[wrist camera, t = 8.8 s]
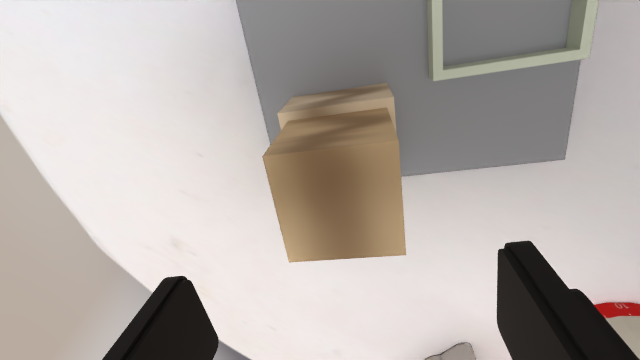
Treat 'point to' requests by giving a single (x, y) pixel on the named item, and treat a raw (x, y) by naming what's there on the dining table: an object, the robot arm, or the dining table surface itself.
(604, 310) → the kitchen timer
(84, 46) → the dining table surface
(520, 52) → the board
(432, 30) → the socket
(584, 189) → the dining table surface
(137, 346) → the robot arm
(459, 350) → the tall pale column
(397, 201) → the cube
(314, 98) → the brown rectangular block
